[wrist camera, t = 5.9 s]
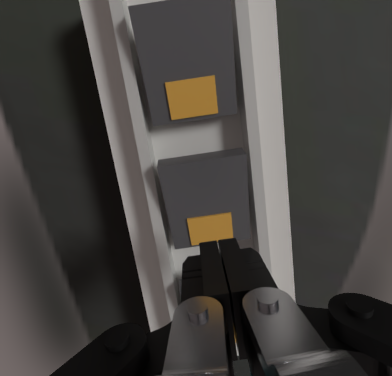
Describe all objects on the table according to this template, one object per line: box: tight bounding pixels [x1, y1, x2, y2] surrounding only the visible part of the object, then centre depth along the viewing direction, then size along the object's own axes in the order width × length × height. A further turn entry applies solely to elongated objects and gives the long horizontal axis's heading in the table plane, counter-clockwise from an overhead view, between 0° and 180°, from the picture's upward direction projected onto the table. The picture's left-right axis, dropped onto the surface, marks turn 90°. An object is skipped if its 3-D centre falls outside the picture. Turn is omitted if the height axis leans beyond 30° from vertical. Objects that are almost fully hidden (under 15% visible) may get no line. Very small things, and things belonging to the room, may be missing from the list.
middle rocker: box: [157, 148, 251, 249], centre depth 14 cm, size 5×4×1 cm
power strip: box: [79, 0, 295, 356], centre depth 17 cm, size 24×10×5 cm, turn 8°
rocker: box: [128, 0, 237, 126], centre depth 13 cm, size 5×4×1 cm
